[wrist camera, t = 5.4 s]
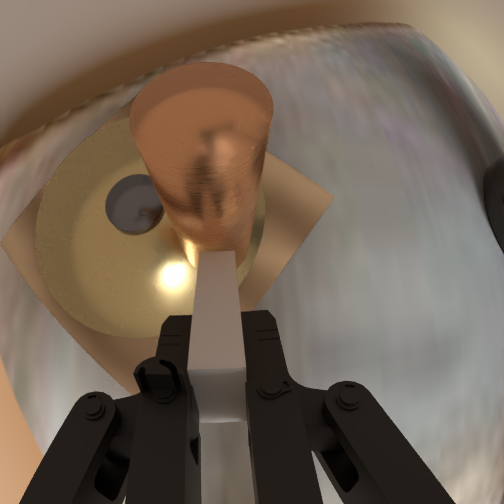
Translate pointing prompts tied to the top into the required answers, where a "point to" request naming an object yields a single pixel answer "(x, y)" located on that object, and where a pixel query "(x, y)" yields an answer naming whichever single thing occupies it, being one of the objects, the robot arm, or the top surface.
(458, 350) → the top surface
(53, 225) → the disc
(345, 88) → the top surface
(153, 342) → the levelling stand
